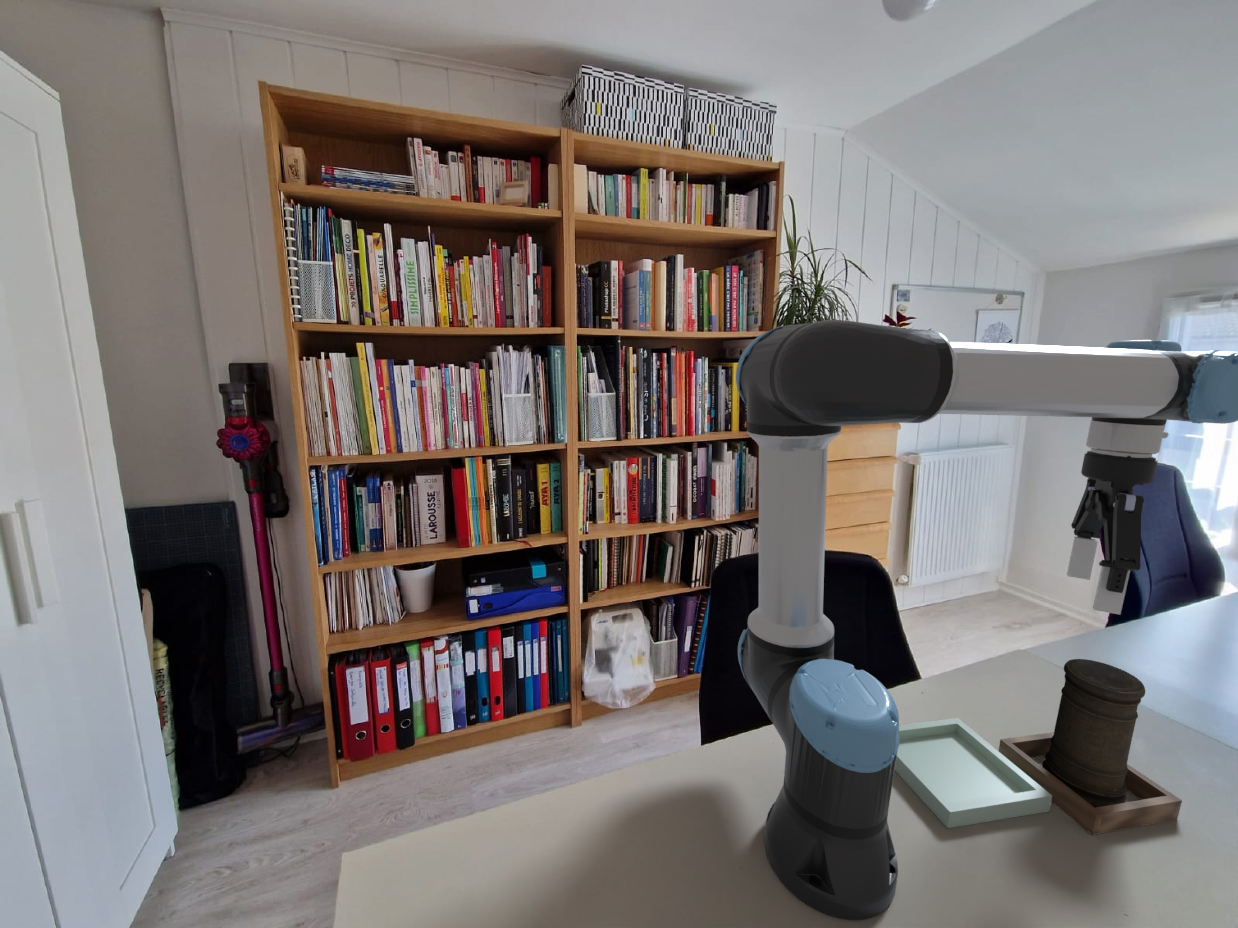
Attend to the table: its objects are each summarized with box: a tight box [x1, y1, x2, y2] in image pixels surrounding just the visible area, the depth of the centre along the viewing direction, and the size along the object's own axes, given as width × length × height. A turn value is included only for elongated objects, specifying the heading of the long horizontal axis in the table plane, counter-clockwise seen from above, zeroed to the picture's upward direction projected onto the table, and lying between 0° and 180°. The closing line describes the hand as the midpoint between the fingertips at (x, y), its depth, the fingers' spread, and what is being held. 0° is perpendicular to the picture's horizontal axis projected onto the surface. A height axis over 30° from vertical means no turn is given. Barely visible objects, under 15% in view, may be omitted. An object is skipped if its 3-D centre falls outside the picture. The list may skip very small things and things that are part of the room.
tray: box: [894, 717, 1052, 829], centre depth 77 cm, size 16×16×2 cm
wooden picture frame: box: [998, 731, 1183, 836], centre depth 75 cm, size 14×14×3 cm
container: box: [1041, 658, 1146, 808], centre depth 74 cm, size 9×9×18 cm
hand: (1091, 593), depth 77 cm, fingers open, 13 cm apart
